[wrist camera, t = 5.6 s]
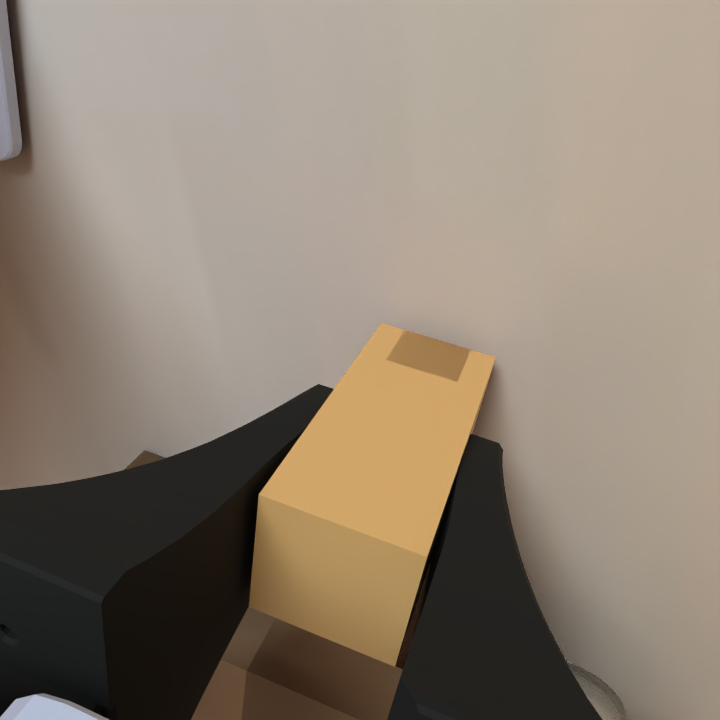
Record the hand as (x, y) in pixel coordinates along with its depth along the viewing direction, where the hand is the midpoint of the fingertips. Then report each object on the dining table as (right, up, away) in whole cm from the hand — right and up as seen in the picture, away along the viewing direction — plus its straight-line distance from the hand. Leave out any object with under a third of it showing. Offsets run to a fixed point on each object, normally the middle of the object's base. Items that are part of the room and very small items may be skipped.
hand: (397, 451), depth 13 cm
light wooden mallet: (0, -3, +5) cm, 6 cm away
